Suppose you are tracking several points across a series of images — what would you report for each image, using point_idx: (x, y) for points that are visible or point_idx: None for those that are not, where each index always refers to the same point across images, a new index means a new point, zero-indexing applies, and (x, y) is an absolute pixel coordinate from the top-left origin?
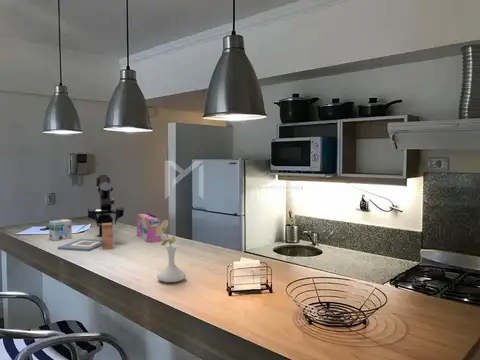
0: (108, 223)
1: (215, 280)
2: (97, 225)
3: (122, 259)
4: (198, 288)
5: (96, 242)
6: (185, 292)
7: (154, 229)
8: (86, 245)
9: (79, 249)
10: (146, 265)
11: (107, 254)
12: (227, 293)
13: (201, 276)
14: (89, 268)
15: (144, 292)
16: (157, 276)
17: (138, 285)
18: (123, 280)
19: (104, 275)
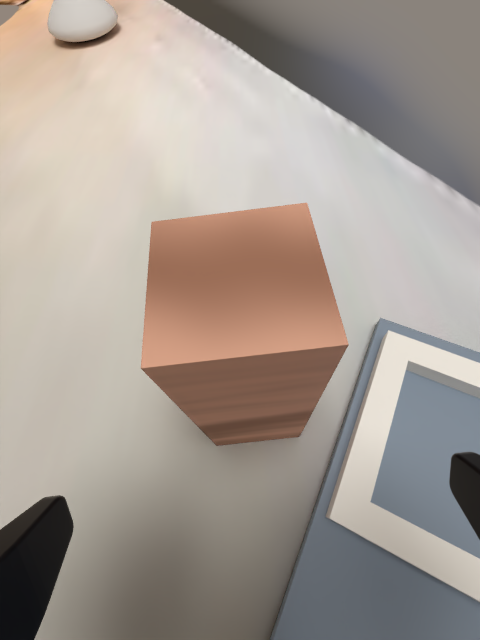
0: (210, 308)
1: (2, 34)
2: (460, 481)
3: (175, 162)
4: None
5: (369, 481)
6: None
7: None
8: (428, 361)
9: (465, 351)
10: (106, 106)
11: None
12: (27, 3)
13: (13, 47)
14: (297, 94)
15: (162, 3)
16: (115, 15)
17: (166, 20)
18: (194, 35)
19: (242, 55)
